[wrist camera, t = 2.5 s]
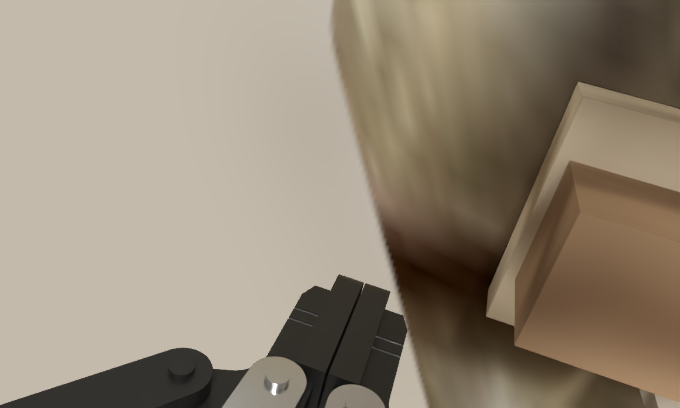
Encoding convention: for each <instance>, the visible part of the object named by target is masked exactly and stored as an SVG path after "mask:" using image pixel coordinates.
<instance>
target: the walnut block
mask: <svg viewBox="0 0 680 408" xmlns="http://www.w3.org/2000/svg"><path fill="white" fill-rule="evenodd" d="M514 346H517V347H520V348H523V349H526V350H529V351H532V352H535V353H538V354H541V355H543V356H546V357H549V358H552V359H555V360H558V361H561V362H564V363H567V364H570V365H572V366H575V367H578V368H581V369H584V370H587V371H590V372H593V373H596V374H599V375H601V376H604V377H607V378H610V379H613V380H616V381H619V382H622V383H625V384H628V385H630V386H633V387H636V388H639V389H642V390H645V391H648V392H651V393H654V394H657V395H659V396H662V397H665V398H668V399H671V400H674V401H677V402H680V192H677V191H674V190H671V189H667V188H664V187H660V186H657V185H653V184H650V183H646V182H643V181H640V180H636V179H633V178H629V177H626V176H622V175H619V174H615V173H612V172H609V171H605V170H602V169H598V168H595V167H591V166H588V165H585V164H581V163H578V162H574V161H571V160H570V161H569V163H568V165H567V167H566V169H565V172H564V174H563V176H562V178H561V180H560V183H559V185H558V187H557V189H556V191H555V193H554V196H553V198H552V200H551V202H550V204H549V207H548V209H547V211H546V213H545V215H544V217H543V220H542V222H541V224H540V226H539V228H538V230H537V233H536V235H535V237H534V239H533V241H532V244H531V246H530V248H529V250H528V252H527V254H526V257H525V259H524V261H523V263H522V265H521V268H520V270H519V272H518V274H517V276H516V278H515V323H514Z"/></svg>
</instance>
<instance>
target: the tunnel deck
mask: <svg viewBox="0 0 680 408" xmlns="http://www.w3.org/2000/svg"><path fill="white" fill-rule="evenodd" d="M570 160H571V161H574V162H578V163H581V164H585V165H588V166H591V167H595V168H598V169H602V170H605V171H609V172H612V173H615V174H619V175H622V176H626V177H629V178H633V179H636V180H640V181H643V182H646V183H650V184H653V185H657V186H660V187H664V188H667V189H671V190H674V191H677V192H680V109H678V108H674V107H670V106H667V105H663V104H659V103H656V102H652V101H648V100H644V99H641V98H637V97H633V96H630V95H626V94H622V93H618V92H615V91H611V90H607V89H604V88H600V87H596V86H593V85H589V84H585V83H581V82H578V83H577V85H576V87H575V90H574V92H573V94H572V97H571V99H570V101H569V104H568V106H567V108H566V111H565V113H564V115H563V117H562V120H561V122H560V124H559V127H558V129H557V131H556V134H555V136H554V138H553V141H552V143H551V145H550V148H549V150H548V152H547V155H546V157H545V159H544V162H543V164H542V166H541V168H540V171H539V173H538V175H537V178H536V180H535V182H534V185H533V187H532V189H531V192H530V194H529V196H528V199H527V201H526V203H525V206H524V208H523V210H522V212H521V215H520V217H519V219H518V222H517V224H516V226H515V229H514V231H513V233H512V236H511V238H510V240H509V243H508V245H507V247H506V250H505V252H504V254H503V256H502V259H501V261H500V263H499V266H498V268H497V270H496V273H495V275H494V277H493V280H492V282H491V284H490V287H489V289H488V299H487V311H486V317H489V318H492V319H495V320H498V321H501V322H504V323H507V324H509V325H512V326H514V323H515V278H516V276H517V274H518V272H519V270H520V268H521V265H522V263H523V261H524V259H525V257H526V254H527V252H528V250H529V248H530V246H531V244H532V241H533V239H534V237H535V235H536V233H537V230H538V228H539V226H540V224H541V222H542V220H543V217H544V215H545V213H546V211H547V209H548V207H549V204H550V202H551V200H552V198H553V196H554V193H555V191H556V189H557V187H558V185H559V183H560V180H561V178H562V176H563V174H564V172H565V169H566V167H567V165H568V163H569V161H570ZM640 393H641V397H642V401H643V405H644V408H680V402H677V401H674V400H671V399H668V398H665V397H662V396H659V395H657V394H654V393H651V392H648V391H645V390H642V389H640Z"/></svg>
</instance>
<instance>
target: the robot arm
mask: <svg viewBox="0 0 680 408" xmlns="http://www.w3.org/2000/svg"><path fill="white" fill-rule="evenodd" d="M363 284H364V283H363V282H360V281H357V280H354V279H351V278H348V277H345V276H342V275H338V277H337V279H336V281H335V283H334V285H333V287H332V289H331V291H330V290H327V289H324V288H321V287H318V286H314V287H312V288H311V289H309V290H308V291H306V292H305V293H303V294H302V295H301V297H300V299H299V300H298V302H297V304H296V306H295V308H294V309H293V311H292V313H291V315H290V316H289V319H288V320H287V322H286V323H285V325H284V327H283V329H282V330H281V332H280V334H279V336H278V337H277V339H276V341H275V343H274V345H273V346H272V348H271V350H270V352H269V353H268V355H267V357H266V358H263V359H260V360H259V361H257V362H256V363H254V364H253V365H252V366H251V367H250V368H249V369H245V370H238V371H234V370H220V369H213V367H212V364H211V362H210V360H209V359H208V357H207V356H206V355H204V354H203V353H201V352H199V351H197V350H194V349H190V348H176V349H171V350H168V351H165V352H162V353H159V354H156V355H153V356H150V357H146V358H143V359H140V360H138V361H134V362H131V363H128V364H125V365H122V366H119V367H116V368H113V369H110V370H107V371H103V372H100V373H97V374H94V375H91V376H88V377H85V378H82V379H79V380H76V381H73V382H70V383H67V384H64V385H60V386H57V387H54V388H51V389H48V390H45V391H42V392H39V393H36V394H33V395H30V396H27V397H24V398H20V399H17V400H14V401H11V402H8V403H5V404H2V405H0V408H389V399H390V394H391V391H392V387H393V383H394V380H395V375H396V372H397V368H398V364H399V360H400V356H401V352H402V349H403V345H404V341H405V337H406V333H407V328H406V324H405V321H404V317H403V315H400V314H397V313H394V312H391V311H388V310H385V307H386V304H387V301H388V298H389V294H390V291H387V290H384V289H381V288H378V287H375V286H372V285H369V284H365V286H364V288H363ZM362 288H363V291H362ZM361 292H362V293H361Z"/></svg>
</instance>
